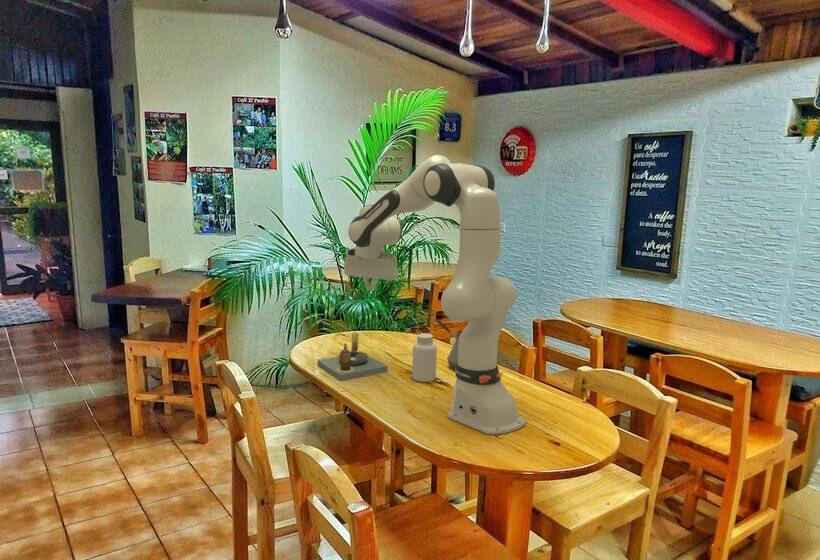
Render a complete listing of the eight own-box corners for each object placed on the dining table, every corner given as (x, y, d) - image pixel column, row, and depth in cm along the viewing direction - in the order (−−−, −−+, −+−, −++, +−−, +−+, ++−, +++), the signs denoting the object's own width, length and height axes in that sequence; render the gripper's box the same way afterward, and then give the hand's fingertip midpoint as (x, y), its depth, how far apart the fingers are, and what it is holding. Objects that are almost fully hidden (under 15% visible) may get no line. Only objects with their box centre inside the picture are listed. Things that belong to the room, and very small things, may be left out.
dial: (368, 354, 208) (369, 333, 206) (366, 366, 195) (366, 343, 193) (341, 353, 208) (341, 332, 206) (337, 365, 195) (337, 343, 193)
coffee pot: (486, 368, 201) (488, 327, 199) (463, 375, 194) (464, 332, 191) (444, 353, 217) (445, 315, 215) (422, 359, 210) (423, 320, 208)
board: (387, 371, 196) (387, 364, 196) (340, 381, 186) (340, 374, 186) (362, 357, 211) (362, 351, 211) (317, 365, 201) (317, 358, 201)
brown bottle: (352, 369, 190) (352, 344, 189) (343, 371, 188) (343, 345, 187) (347, 366, 193) (347, 341, 191) (338, 368, 191) (338, 343, 190)
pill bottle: (426, 384, 185) (427, 340, 182) (407, 378, 190) (408, 335, 187) (440, 378, 191) (441, 334, 188) (421, 372, 196) (422, 330, 193)
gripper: (401, 252, 197) (400, 291, 200) (351, 248, 206) (351, 286, 208) (392, 254, 192) (392, 294, 194) (341, 250, 200) (341, 288, 203)
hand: (370, 290), depth 201 cm, fingers closed
